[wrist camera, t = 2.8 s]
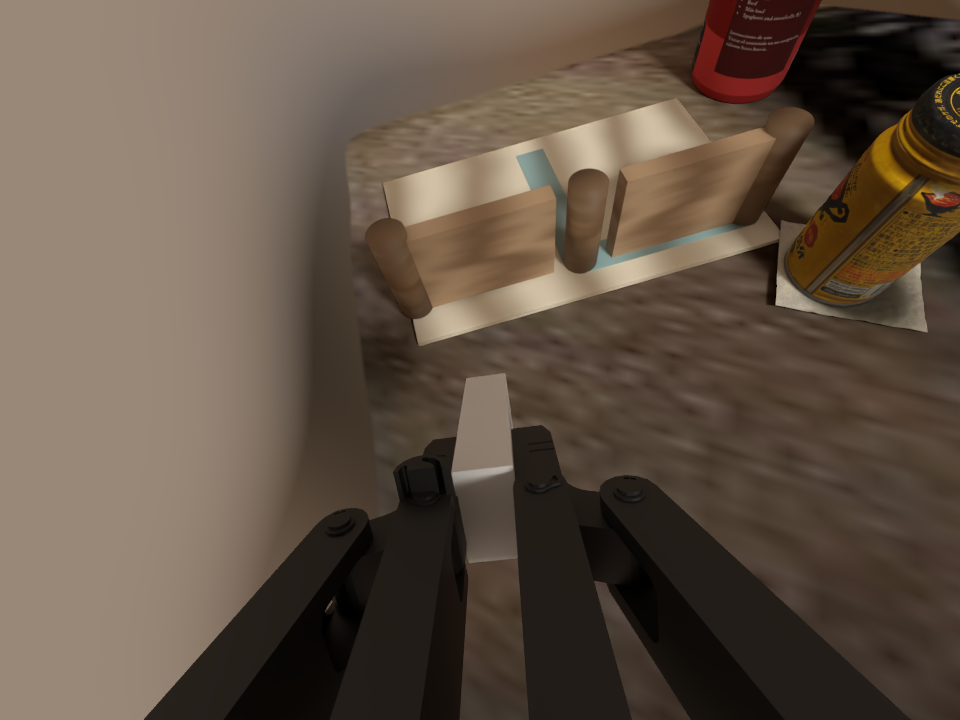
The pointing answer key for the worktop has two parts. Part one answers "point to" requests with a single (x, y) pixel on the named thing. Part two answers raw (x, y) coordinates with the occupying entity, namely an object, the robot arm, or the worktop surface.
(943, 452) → the worktop surface
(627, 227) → the fence fixed
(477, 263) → the fence panel
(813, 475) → the worktop surface
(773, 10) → the canned food
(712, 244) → the board
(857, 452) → the worktop surface
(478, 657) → the worktop surface
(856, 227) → the condiment
